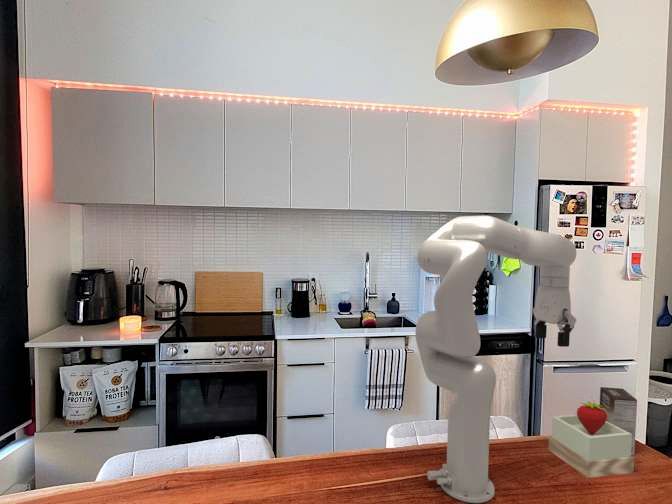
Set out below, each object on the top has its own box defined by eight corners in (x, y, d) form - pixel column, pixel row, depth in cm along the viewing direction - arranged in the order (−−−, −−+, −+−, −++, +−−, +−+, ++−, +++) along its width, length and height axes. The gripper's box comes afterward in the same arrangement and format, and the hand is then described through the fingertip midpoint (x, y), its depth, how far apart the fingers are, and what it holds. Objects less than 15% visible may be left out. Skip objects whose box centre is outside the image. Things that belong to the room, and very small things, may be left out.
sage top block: (589, 461, 103) (589, 438, 103) (551, 437, 116) (552, 416, 116) (630, 456, 106) (631, 434, 106) (590, 433, 119) (590, 413, 119)
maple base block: (587, 479, 103) (588, 462, 103) (548, 451, 117) (548, 435, 117) (633, 474, 106) (634, 457, 106) (589, 447, 120) (590, 432, 120)
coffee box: (596, 437, 125) (599, 386, 124) (620, 440, 123) (622, 388, 123) (610, 453, 116) (613, 397, 115) (636, 455, 114) (638, 399, 114)
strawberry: (571, 429, 114) (572, 393, 114) (597, 429, 114) (598, 393, 114) (584, 439, 108) (585, 401, 108) (612, 439, 108) (613, 402, 108)
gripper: (524, 280, 126) (521, 335, 126) (563, 286, 108) (560, 350, 109) (546, 280, 127) (543, 335, 127) (588, 286, 110) (585, 349, 110)
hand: (551, 342), depth 118 cm, fingers open, 9 cm apart
